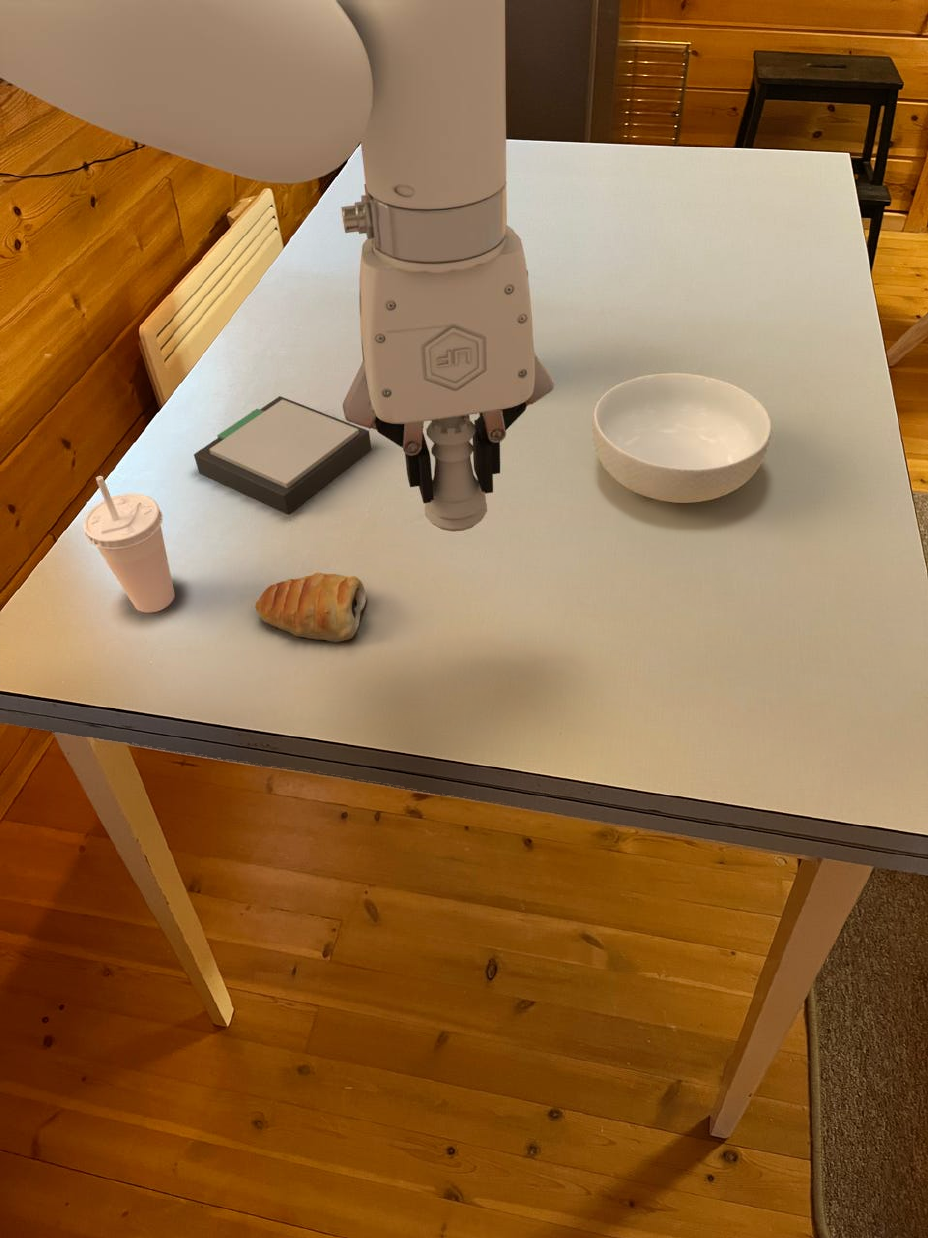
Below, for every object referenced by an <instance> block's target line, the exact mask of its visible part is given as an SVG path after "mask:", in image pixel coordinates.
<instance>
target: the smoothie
mask: <svg viewBox="0 0 928 1238" xmlns="http://www.w3.org/2000/svg"><path fill="white" fill-rule="evenodd" d="M95 480H96V483H97V485H98V488H99V490H100V492H101V495H102V497H103V500H102V501H100V502H99V503H97V504H96V505H94V506H93V507H92V508H91V509H90V510H89V511H88V512H87V513H86V515H85V516H84V519H83V523H82V526H83V527H82V528H83V530H84V533H85V536H86V539H87V540H88V542H89V543H90V544H91V545H92V546H95V547H96V548H97V550H98V552H99V554H100V555H101V556H102V557H103V559H104V560H105V562H106V564H107V565H108V567H109V568H110V571H112V573H113V575H114V577H115V578H116V579H117V582H118V583H119V585H120V586H121V587H122V589H123V591H124V592H125V594H126V595H127V597H128V599H129V600H130V602H131V603H132V605H133V606H134V608H135V609H136V610H137V611H139V612H142V613H147V614H149V613H150V614H151V613H156V612H160V611H162V610H164V609H166V608H167V607H168V606H170V605H171V603H173V601H174V599H175V595H176V594H175V589H174V585H173V580H172V575H171V570H170V565H169V560H168V554H167V550H166V544H165V540H164V533H163V529H162V526H161V525H162V523H163V512H162V510H161V509H160V506H159V504H158V503H157V501H156V500H155V499H154V498H152V497H150V496H149V495H145V494H141V493H124V494H123V493H122V494H118V495H115V496H112V495H111V494H110V492H109V489H108V486H107V484H106V481H105V478H104V477H103V476H102V475H98V476H96V477H95Z"/></svg>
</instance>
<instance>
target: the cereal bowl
mask: <svg viewBox="0 0 928 1238" xmlns="http://www.w3.org/2000/svg"><path fill="white" fill-rule="evenodd" d="M770 417H771V416H770V415H769V413H768V411H767V410H766V408H765V407H764V405H763V404H762V403H761V402H760V401H759V400H758V399H757V398H755V396H753V395H752V394H750V393H748V392H747V391H746V390H744V389H742V388H740V387H739V386H736V385H734V384H731V383H729V382H727V381H724V380H721V379H718V378H714V377H710V376H706V375H700V374H693V373H684V372H683V373H682V372H679V373H678V372H668V373H667V372H666V373H665V372H664V373H656V374H649V375H643V376H638V377H635V378H631V379H628V380H626V381H623V382H620V383H619V384H616V385H615V386H613V387H612V388H610V389H609V390H607V391H606V392H605V393H604V394H603V395H602V396H601V398H599V400H598V402H597V403H596V406H595V408H594V412H593V419H592V420H593V421H592V434H593V436H592V437H593V438H592V439H593V446H594V447H595V452H596V455H597V458H598V459H599V462H600V464H601V465H602V466H603V468H604V469H605V470H606V472H607V473H608V474H609V475H610V476H611V478H614V480H615V481H616V482H618V483H619V484H620V485H621V486H624V487H625V488H626V489H628V490H630V491H632V492H633V493H636V494H637V495H640V496H644V497H646V498H649V499H653V500H657V501H661V502H667V503H668V502H669V503H674V504H677V503H679V504H688V503H689V504H692V503H700V502H701V503H702V502H706V501H710V500H714V499H719V498H721V497H724V496H726V495H728V494H730V493H732V492H733V491H736V490H738V489H739V488H740V487H742V486H743V485H745V483H747V482H748V481H750V480H751V478H752V477H754V475H755V473H756V472H757V471H758V469H759V467H760V466H761V465H762V463H763V461H764V459H765V456H766V454H767V452H768V449H769V446H770V440H771V438H772V432H773V431H772V430H773V429H772V428H773V427H772V421H771V418H770Z"/></svg>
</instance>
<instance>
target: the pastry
mask: <svg viewBox="0 0 928 1238" xmlns="http://www.w3.org/2000/svg"><path fill="white" fill-rule="evenodd" d="M366 601H367V591H366V589H365V585H364V584H363V582H362V580H361V579H359V578H358V577H357V576H355V575H352V576H345V575H341V574H335V573H329V574H327V573H322V572H315V573H313V574H310V575H306V576H304V577H300V578H290V579H287V580H283V581H280V582H278V583H275V584H271V585H269V586H268V587H267V588H265V589H264V591H263V592H262V593H261V595H260V596H259V598H258V600H257V601H256V602H255V604H254V608H255V611H256V612H257V615H259V617H260V619H261V620H262V622H264V623H267V624H269V625H270V626H272V627H275V628H278V629H279V630H281V631H286V632H288V633H290V634H291V635H293V636H295V637H298V638H302V637H303V638H306V639H309V640H311V639H312V640H316V641H319V640H325V641H327V642H334V643H337V642H338V643H339V642H343V641H348V640H350V639H352V638H354V636H355V635H356V633H357V631H358V628H359V626H360V620H361V612H362V611H363V609H364V607H365V605H366Z"/></svg>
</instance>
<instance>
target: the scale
mask: <svg viewBox="0 0 928 1238" xmlns="http://www.w3.org/2000/svg"><path fill="white" fill-rule="evenodd" d="M370 436H371V435H370V431H369V430H368V429H366V428H364V427H363V428H362V427H359V425H356V424H354V423H351V422H348V421H345V420H342V419H340V418H337V417H334V416H332V415H330V414H327V413H324V412H321V411H320V410H316V409H314V408H311V407H309V406H306V405H304V404H302V403H299V402H296V401H293V400H291V399H288V398H286V397H283V396H281V395H279V396H277V397H276V398H275V399H273V400H272V401H270V402H269V403H267V404H266V405H264V406H263V407H261V408H260V409H259V408H256V409H254V410H253V411H251V412H249V414H247V415H245V416H244V417H242V418H241V419H240V420H238V421H236V422H234V423H233V424H232V425H230V426H228V428H226V429H225V430H222V431H221V432H220V433H219V434H217V438H216V439H214V440H213V441H211V442H210V443H208V444H207V445H205V446H203V447H202V448H201V449H200V450H198V451H196V452H195V453H193V457H194V460H195V464H196V467H197V470H198V473H199V474H201V475H203V476H205V477H207V478H209V479H212V480H214V481H216V482H218V483H220V484H222V485H224V486H226V487H229V488H230V489H233V490H236V491H237V492H239V493H242V494H244V495H246V496H247V497H250V498H252V499H254V500H257V501H258V502H261V503H263V504H264V505H268V506H269V507H271V508H274V509H275V510H278V511H280V512H282V513H285V514H287V515H290V514H291V513H293V512H294V511H295V510H296V509H298V508H299V507H300V506H301V505H303V504H304V503H306V502H307V501H308V500H310V499H311V498H312V497H313V496H315V494H317V493H319V491H321V490H322V489H323V488H324V487H326V486H327V485H329V484H330V483H331V482H332V481H334V480H335V479H336V478H337V477H339V476H340V475H341V474H342V473H344V472H345V471H346V470H347V469H349V468H350V467H352V465H354V464H355V463H356V462H358V461H359V460H360V459H361V458H363V457H364V456H366V454H368V453H369V452H371V451H372V443H371V437H370Z"/></svg>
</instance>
